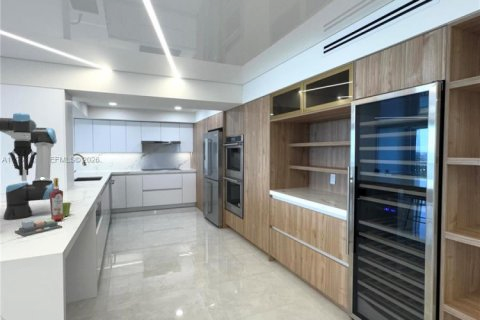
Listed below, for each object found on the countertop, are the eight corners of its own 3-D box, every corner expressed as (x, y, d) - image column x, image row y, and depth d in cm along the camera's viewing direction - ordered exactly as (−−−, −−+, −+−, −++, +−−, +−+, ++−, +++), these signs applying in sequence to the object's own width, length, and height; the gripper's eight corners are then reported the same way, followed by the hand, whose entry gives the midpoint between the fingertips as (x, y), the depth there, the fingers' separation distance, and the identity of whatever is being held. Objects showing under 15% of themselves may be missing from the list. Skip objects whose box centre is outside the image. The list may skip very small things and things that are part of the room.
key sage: (43, 226, 151) (43, 220, 151) (51, 224, 155) (51, 219, 155) (47, 227, 149) (46, 221, 149) (54, 225, 153) (54, 220, 153)
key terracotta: (33, 228, 147) (33, 222, 147) (41, 226, 150) (41, 221, 150) (36, 229, 145) (36, 223, 145) (44, 227, 148) (44, 222, 148)
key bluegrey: (21, 227, 142) (21, 221, 142) (30, 225, 146) (30, 220, 146) (25, 228, 140) (24, 222, 140) (33, 226, 144) (33, 221, 144)
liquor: (53, 222, 162) (51, 179, 161) (48, 221, 166) (46, 178, 165) (66, 220, 168) (64, 177, 167) (60, 218, 172) (59, 177, 171)
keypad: (14, 232, 143) (14, 227, 143) (51, 224, 159) (51, 219, 158) (24, 236, 137) (24, 231, 136) (62, 227, 152) (61, 222, 152)
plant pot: (54, 218, 172) (53, 205, 172) (56, 215, 181) (56, 203, 180) (70, 216, 177) (70, 204, 176) (72, 213, 185) (72, 201, 185)
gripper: (10, 139, 140) (12, 182, 141) (38, 140, 151) (40, 180, 152) (5, 140, 144) (7, 181, 145) (33, 140, 155) (34, 179, 156)
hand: (24, 180), depth 148 cm, fingers closed
